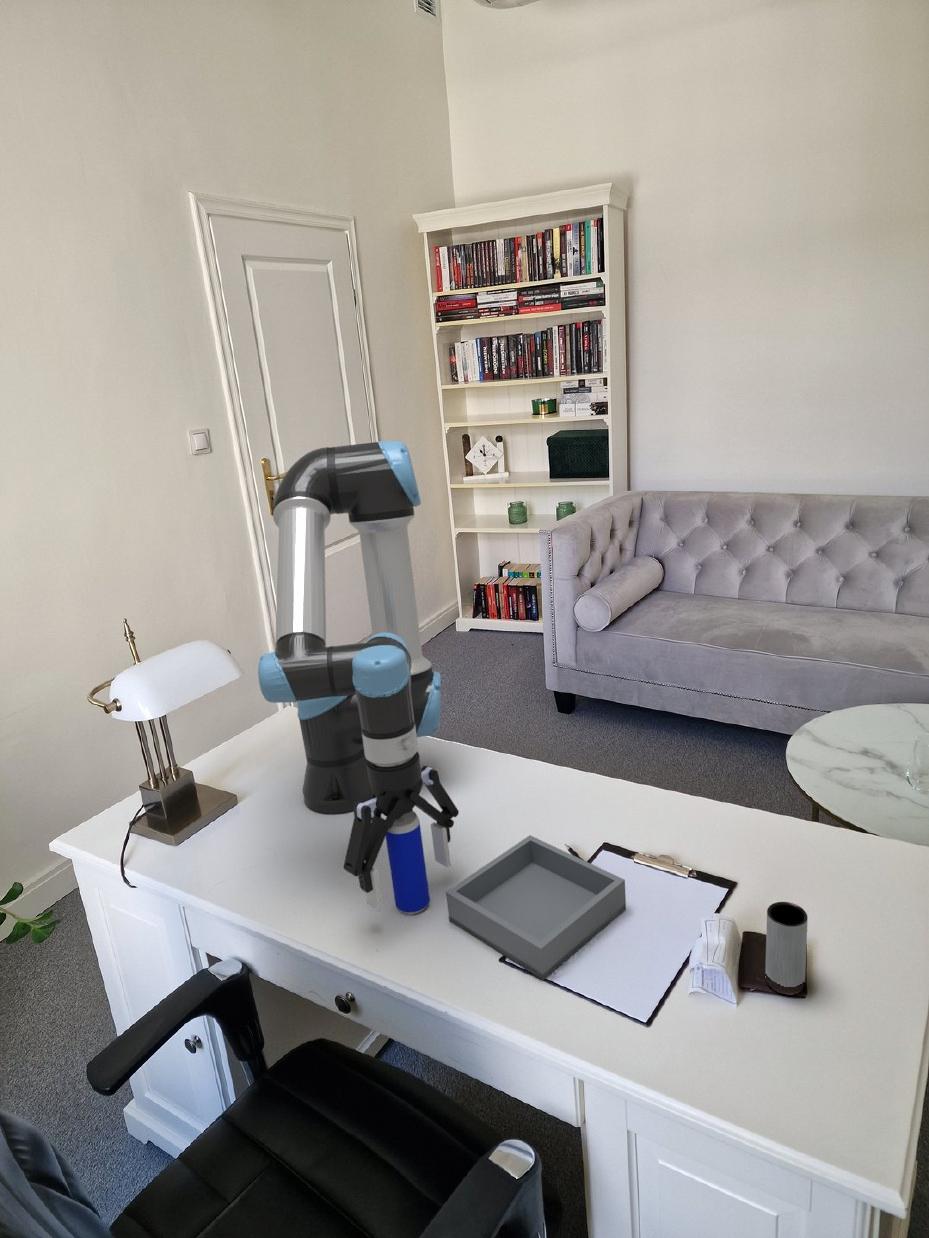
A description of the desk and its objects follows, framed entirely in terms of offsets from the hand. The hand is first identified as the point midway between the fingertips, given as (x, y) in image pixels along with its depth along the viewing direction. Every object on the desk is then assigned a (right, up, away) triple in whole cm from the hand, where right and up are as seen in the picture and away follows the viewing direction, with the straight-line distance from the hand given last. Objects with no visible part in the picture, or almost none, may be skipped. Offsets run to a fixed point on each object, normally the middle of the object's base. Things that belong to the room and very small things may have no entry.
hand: (410, 883), depth 120 cm
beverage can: (0, -4, +1) cm, 4 cm away
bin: (+19, -3, -4) cm, 19 cm away
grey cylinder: (+48, -6, -20) cm, 52 cm away
